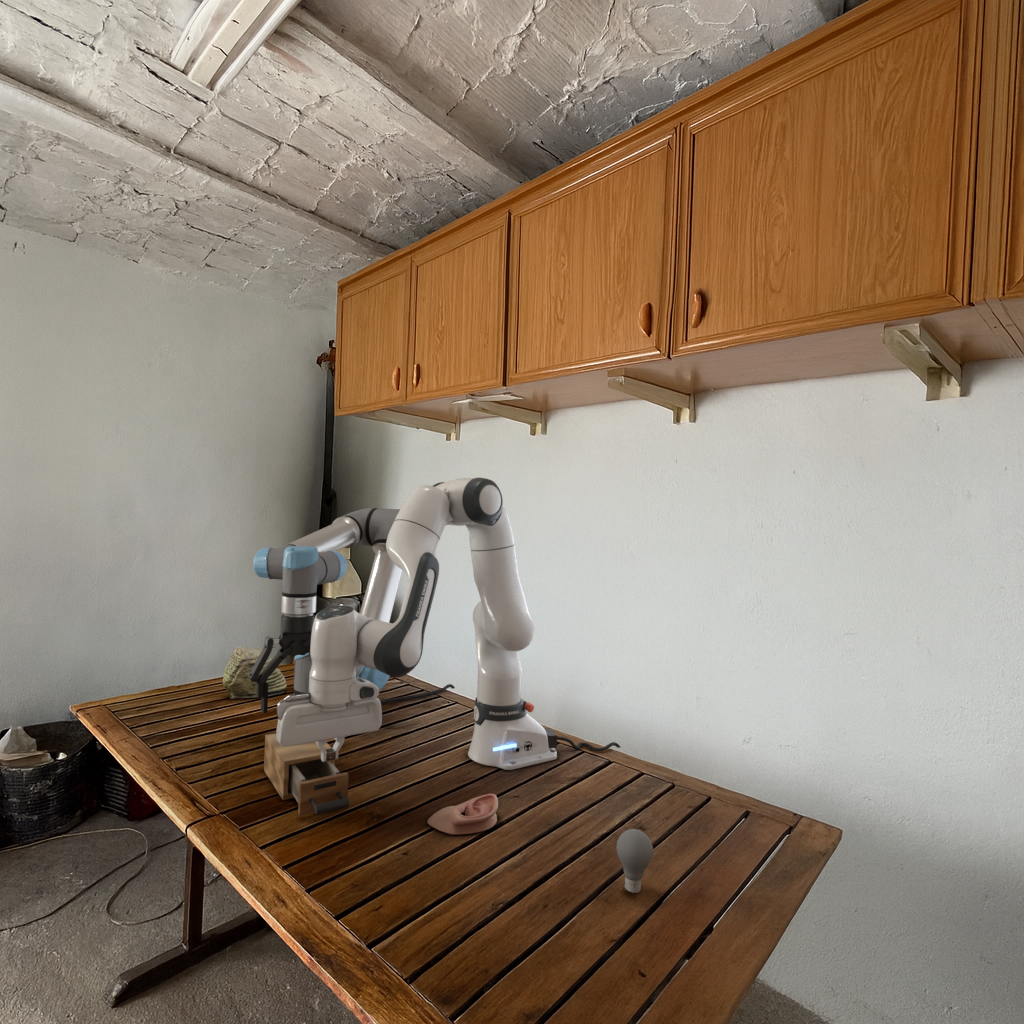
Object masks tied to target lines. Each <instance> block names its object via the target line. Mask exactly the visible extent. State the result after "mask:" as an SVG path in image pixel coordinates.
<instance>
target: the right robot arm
mask: <svg viewBox="0 0 1024 1024" xmlns="http://www.w3.org/2000/svg"><path fill="white" fill-rule="evenodd" d="M503 499H504V498H503V495H502V492H501V490H500V487H499V486H498V484H497V483H496V482H495V481H494V480H492V479H489V478H486V477H470V478H469V477H467V478H466V477H463V478H462V477H461V478H456V479H454V480H448V481H441V482H437V483H435V484H433V485H428V484H423V485H418V486H417V487H415V488H414V489H413V490H412V491H411V492H410V494H409V495H408V496H407V498H406V500H405V501H404V502H403V504H402V505H401V507H400V508H399V509H400V511H399V512H398V514H397V516H396V518H395V520H394V523H393V525H392V527H391V529H390V531H389V534H388V537H387V541H386V549H387V553H388V555H389V557H390V559H391V560H392V562H393V563H394V564H395V565H396V566H398V567H399V568H400V569H401V570H402V572H403V573H404V574H405V576H406V577H407V588H406V591H405V595H404V598H403V602H402V604H401V608H400V612H399V615H398V618H397V620H396V621H394V622H393V623H392V622H389V623H388V622H383V621H380V620H376V619H372V618H369V617H366V616H364V615H361V614H360V612H358V611H356V610H355V608H354V607H353V606H350V605H346V604H345V605H342V604H339V605H331V606H328V607H325V608H323V609H320V611H318V612H317V614H316V615H315V616H316V617H315V619H314V623H313V627H312V634H311V645H310V655H311V659H312V667H311V670H310V674H309V693H304V694H299V695H294V694H289V695H286V696H285V697H284V698H282V699H281V700H279V701H278V703H277V705H276V716H277V723H276V731H275V733H276V739H277V741H278V742H279V744H281V745H282V746H283V747H288V746H294V745H300V744H305V743H311V742H316V744H317V746H318V747H319V749H320V751H321V760H322V761H323V762H325V761H330V760H335V761H336V760H338V759H339V751H340V750H341V749H342V747H343V745H344V743H345V739H346V737H349V736H356V735H361V734H366V733H371V732H372V733H373V732H377V731H379V729H380V728H381V727H382V725H383V710H382V709H383V708H382V704H381V702H380V698H378V697H379V694H380V691H379V688H378V687H377V686H376V685H375V684H373V683H372V682H370V681H368V680H366V679H362V678H357V677H356V670H355V669H356V667H357V666H359V665H363V666H365V667H369V668H372V669H376V670H379V671H380V672H383V673H385V674H387V675H389V676H390V677H392V678H401V677H404V676H406V675H408V674H409V673H411V672H412V671H413V670H415V668H416V667H417V666H418V664H419V663H420V661H421V658H422V655H423V650H424V641H425V632H426V628H427V624H428V620H429V616H430V614H431V613H430V612H431V610H432V609H431V608H432V605H433V601H434V597H435V596H434V595H435V594H436V593H435V592H436V590H437V589H436V588H437V585H438V580H439V575H440V562H439V560H438V558H437V553H438V548H439V544H440V541H441V540H442V537H443V535H444V531H445V528H446V526H459V527H461V526H465V527H466V529H467V530H468V533H469V535H468V537H469V547H470V556H471V563H472V572H473V579H474V583H475V586H476V588H477V591H478V594H479V598H480V601H478V603H476V604H475V606H474V608H473V611H472V621H473V626H474V638H475V639H474V640H475V641H474V642H475V650H476V659H477V660H476V661H477V684H476V685H477V689H476V697H475V699H474V707H473V720H474V725H473V726H474V728H473V733H472V737H471V742H470V745H469V749H468V752H467V756H468V757H469V759H470V760H472V761H473V762H475V763H477V764H481V765H484V766H490V767H495V768H499V769H503V770H505V771H513V770H516V769H521V768H525V767H529V766H534V765H538V764H542V763H547V762H550V761H554V760H555V761H556V760H558V759H557V758H558V752H557V748H558V741H562V742H563V741H564V742H567V743H569V744H570V746H571V747H572V748H573V749H575V750H580V748H581V747H583V746H584V747H586V748H588V749H590V750H592V751H594V752H604V751H607V750H608V749H610V748H612V747H613V746H615V747H616V749H617V748H618V749H619V748H621V745H620V744H619V743H618V742H616V741H612V742H610V743H608V744H606V745H605V746H603V747H595V746H593V745H592V744H590V743H588V742H586V741H585V742H582V741H581V742H578V744H577V745H576V744H575V742H574V741H573V740H572V739H570V738H568V737H564V736H558V734H557V733H556V732H555V731H554V730H553V729H552V728H551V727H550V728H548V727H547V728H544V727H543V725H542V724H541V723H540V722H538V721H537V720H536V719H534V717H532V716H531V715H530V714H528V713H533V712H534V710H535V706H534V704H532V703H531V702H527V700H525V699H523V698H522V697H521V696H522V679H523V678H522V677H523V669H522V664H521V662H520V661H521V660H520V656H519V651H523V650H524V649H526V648H528V647H529V646H530V645H531V643H532V641H533V639H534V638H535V632H536V628H535V624H534V620H533V619H532V616H531V615H530V611H529V608H528V604H527V601H526V600H527V599H526V596H525V593H524V589H523V586H522V583H521V580H520V575H519V569H518V568H519V567H518V561H517V553H516V546H515V538H514V533H513V528H512V524H511V520H510V517H509V515H508V511H507V509H506V508H505V507H504V500H503ZM527 712H528V713H527ZM332 739H334V740H335V742H334V743H333V745H332V747H331V749H326V750H325V748H324V746H323V745H326V742H327V741H328V740H332Z"/></svg>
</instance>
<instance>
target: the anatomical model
mask: <svg viewBox="0 0 1024 1024" xmlns="http://www.w3.org/2000/svg"><path fill="white" fill-rule="evenodd" d="M498 808H499V799H498V797H497V795H496V794H495V793H487V794H483V795H480V796H476V797H473V798H470V799H469V800H467V801H464V802H462V803H459V804H456V805H449V806H446V807H443V808H441V809H439V810H438V811H436V812H434V813H433V814H432V815H431V816H430V817H429V818H428V819H427V825H429V826H430V827H431V828H433V829H435V830H438V831H440V832H443V833H445V834H448V835H455V836H457V835H468V834H475V833H480V832H484V831H486V830H489V829H492V828H493V827H494V826H495V825H496V824H497V821H498V816H497V811H498Z"/></svg>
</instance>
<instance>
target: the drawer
mask: <svg viewBox="0 0 1024 1024" xmlns="http://www.w3.org/2000/svg"><path fill="white" fill-rule="evenodd" d="M349 775H350V774H349V773H348V772H347V771H346V772H340V770H339V769H338V768H337V766H336V765H335V766H334V765H333V764H332V762H331V761H325V762H323V761H322V760H321V759H317V760H312V761H307V762H302V763H297V764H292V765H289V780H288V789H289V790H290V792H291V793H292V795H293V796H294V798H293V799H295V800H296V802H297V805H298V806H297V807H298V809H297V814H298V815H299V817H301V816H305V815H309V814H313V813H314V814H315V815H320V814H324V813H328V812H333V811H337V810H341V809H344V808H348V807H350V804H351V803H350V798H349Z"/></svg>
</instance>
